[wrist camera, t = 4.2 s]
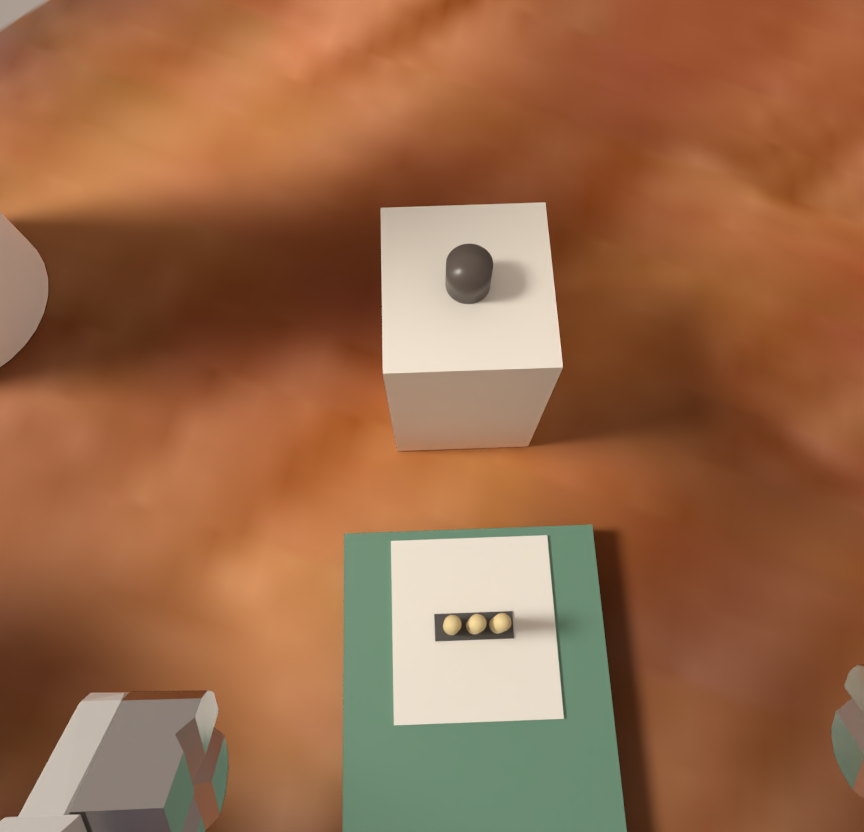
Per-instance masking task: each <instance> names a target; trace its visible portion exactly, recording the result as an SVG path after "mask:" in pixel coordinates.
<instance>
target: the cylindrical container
mask: <svg viewBox="0 0 864 832" xmlns="http://www.w3.org/2000/svg"><path fill="white" fill-rule="evenodd" d="M47 299H48V276H47V272H46V268H45V264H44V262H43V260H42V258H41V256H40V255H39V253H38V251H37V250H36V249H35V248H34V246H33V245H32V244H31V243H30V242H29V241H28V240H27V239H26V238H25V237H24V236H23V235H22V234H21V233H20V232H19V231H18V230H17V229H16V227H15V226H14V225H13V224H12V223H11V222H10V221H9V220H8V219H7V218H6V217H5V216H4V215H3V214H2V213H1V212H0V367H1V366H3V365H4V364H5V363H7V362H8V361H9V360H11V359H12V358H13V357H14V356H15V355H16V354H17V353H18V352H19V351H20V350H21V349H22V348H23V347H24V346H25V345H26V343H27V342H28V341H29V339H30V338H31V336H32V335H33V334H34V332H35V331H36V329H37V327H38V325H39V323H40V321H41V319H42V316H43V314H44V311H45V307H46V303H47Z"/></svg>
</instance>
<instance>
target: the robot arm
mask: <svg viewBox="0 0 864 832" xmlns="http://www.w3.org/2000/svg"><path fill="white" fill-rule="evenodd" d="M844 687H845V689H846V690H847V692H848V693H849V695H850V696H851V698H852V699H851V700H849V701H848V702H847V703H846V704H845V705H843V706H842V707H841V708H840V709H838V710H837V711H836V713H835V717H834V721H833V725H832V729H831V734H832V742H833V750H834V754H835V757H836V759H837V762H838V765H839V767H840V770H841V772H842V774H843V775H844V777H845V779H846V780H847V782H848V784H849V785H850V787H851V789H852V790H853V791H854V792H856V793H857V794H859V795H860V796H861V797H863V798H864V664H858V665H857V666H855V667H854V668H853V669H852V670H851V671H850V672H849V674H848V677H847V680H846V682H845V685H844ZM218 712H219V710H218V706H217V702H216V699H215V695H214V692H211V691H130V692H101V693H90V694H89V695H88V696H86V697H85V698H84V699H83V700H82V701H81V702H80V703H79V704H78V706H77V708H76V710H75V712H74V714H73V715H72V717H71V719H70V721H69V723H68V725H67V727H66V728H65V730H64V732H63V734H62V736H61V738H60V739H59V741H58V743H57V745H56V747H55V749H54V751H53V752H52V754H51V756H50V758H49V760H48V762H47V764H46V765H45V767H44V769H43V771H42V773H41V775H40V777H39V778H38V780H37V782H36V784H35V786H34V788H33V790H32V791H31V793H30V795H29V797H28V799H27V801H26V802H25V804H24V806H23V808H22V810H21V812H20V814H19V815H18V816H15V817H5V818H3V819H2V820H1V821H0V832H205V830H206V829H207V828H208V827H209V826H210V825H211V824H212V823H213V822H214V821H215V820H216V819H217V818H218V817H219V816H220V813H221V809H222V805H223V801H224V797H225V793H226V784H227V775H228V751H227V745H226V740H225V735H223V734H222V733H221V732H220V731H218V730H217V729H216V728H215V727H214V725H215V722H216V718H217V715H218Z"/></svg>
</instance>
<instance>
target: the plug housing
mask: <svg viewBox="0 0 864 832" xmlns="http://www.w3.org/2000/svg"><path fill="white" fill-rule="evenodd" d="M381 279H382V354H383V378H384V383H385V389H386V394H387V400H388V405H389V410H390V416H391V421H392V427H393V432H394V438H395V443H396V449H397V451H416V450H444V449H472V448H500V447H528V446H529V443H530V441H531V439H532V437H533V434H534V432H535V430H536V428H537V425H538V423H539V421H540V419H541V416H542V414H543V412H544V409H545V407H546V405H547V403H548V400H549V398H550V396H551V394H552V391H553V389H554V387H555V385H556V382H557V380H558V378H559V376H560V373H561V371H562V369H563V362H562V353H561V343H560V334H559V325H558V315H557V306H556V296H555V287H554V278H553V268H552V259H551V250H550V240H549V231H548V222H547V212H546V203H545V202H544V203H513V204H482V205H452V206H421V207H390V208H381Z"/></svg>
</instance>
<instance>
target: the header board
mask: <svg viewBox="0 0 864 832" xmlns="http://www.w3.org/2000/svg"><path fill="white" fill-rule="evenodd" d="M343 832H627V828H626V819H625V811H624V802H623V793H622V784H621V775H620V766H619V757H618V748H617V740H616V731H615V722H614V713H613V704H612V695H611V686H610V677H609V669H608V660H607V651H606V642H605V633H604V624H603V615H602V607H601V598H600V589H599V580H598V571H597V562H596V553H595V544H594V536H593V527H592V525H570V526H543V527H515V528H488V529H461V530H433V531H406V532H378V533H351V534H344V671H343Z"/></svg>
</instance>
